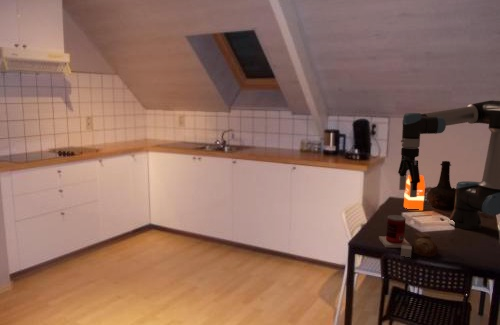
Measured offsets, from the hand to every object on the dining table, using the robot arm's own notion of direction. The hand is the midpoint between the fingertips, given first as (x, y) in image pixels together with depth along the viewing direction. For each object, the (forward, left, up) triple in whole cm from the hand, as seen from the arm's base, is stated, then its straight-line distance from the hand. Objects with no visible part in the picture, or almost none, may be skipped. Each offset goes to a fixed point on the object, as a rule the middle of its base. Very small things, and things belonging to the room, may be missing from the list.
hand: (407, 193), depth 197 cm
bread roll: (-3, +16, -22) cm, 28 cm away
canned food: (+6, +6, -21) cm, 23 cm away
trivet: (+6, +6, -22) cm, 24 cm away
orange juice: (-24, -54, -22) cm, 63 cm away
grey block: (+6, +21, -22) cm, 31 cm away
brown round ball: (-6, +7, -22) cm, 24 cm away
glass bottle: (-43, -58, -22) cm, 75 cm away
